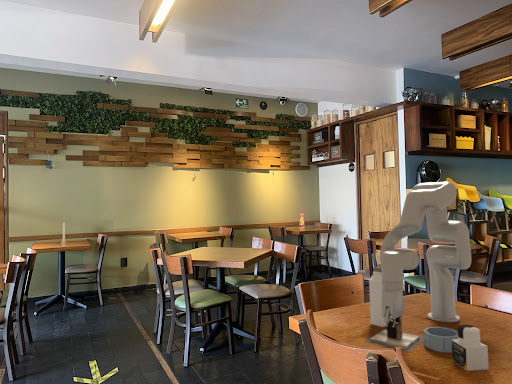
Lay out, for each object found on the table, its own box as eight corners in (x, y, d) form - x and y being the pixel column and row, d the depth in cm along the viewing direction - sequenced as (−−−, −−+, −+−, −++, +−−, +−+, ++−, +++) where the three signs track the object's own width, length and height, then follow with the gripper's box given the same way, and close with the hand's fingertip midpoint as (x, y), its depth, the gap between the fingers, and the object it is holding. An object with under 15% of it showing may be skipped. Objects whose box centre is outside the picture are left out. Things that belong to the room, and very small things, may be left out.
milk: (383, 328, 154) (380, 274, 155) (370, 325, 159) (368, 272, 160) (391, 325, 158) (389, 272, 158) (379, 322, 163) (377, 270, 163)
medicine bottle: (452, 361, 120) (450, 323, 121) (473, 360, 121) (471, 322, 122) (466, 371, 113) (464, 330, 114) (489, 370, 114) (487, 329, 114)
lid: (385, 331, 148) (384, 316, 149) (419, 339, 140) (418, 322, 140) (370, 341, 139) (369, 324, 139) (405, 349, 130) (405, 331, 130)
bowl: (430, 340, 140) (430, 324, 140) (464, 347, 132) (463, 330, 133) (420, 348, 132) (419, 332, 132) (454, 356, 124) (454, 339, 124)
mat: (383, 331, 150) (383, 330, 150) (425, 340, 140) (425, 338, 140) (364, 343, 139) (364, 341, 139) (408, 353, 128) (408, 351, 128)
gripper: (392, 280, 149) (393, 328, 148) (372, 288, 136) (374, 340, 136) (411, 282, 144) (413, 332, 143) (393, 290, 131) (395, 344, 130)
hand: (394, 335), depth 139 cm, fingers closed on lid, 4 cm apart
